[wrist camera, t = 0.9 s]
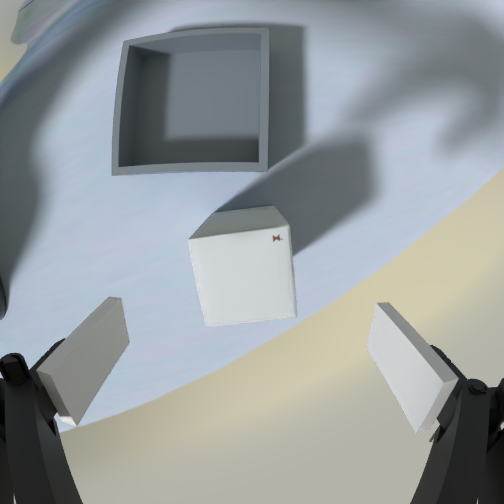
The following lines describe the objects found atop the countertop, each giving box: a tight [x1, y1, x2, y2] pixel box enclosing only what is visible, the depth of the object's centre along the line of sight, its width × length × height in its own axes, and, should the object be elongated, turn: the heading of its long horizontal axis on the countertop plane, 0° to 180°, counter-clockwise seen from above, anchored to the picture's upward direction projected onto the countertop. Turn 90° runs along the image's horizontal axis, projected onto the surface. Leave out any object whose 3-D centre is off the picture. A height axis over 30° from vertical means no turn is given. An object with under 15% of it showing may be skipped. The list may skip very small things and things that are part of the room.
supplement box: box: [188, 205, 297, 327], centre depth 26 cm, size 7×7×13 cm
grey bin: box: [112, 27, 269, 176], centre depth 25 cm, size 16×16×5 cm
